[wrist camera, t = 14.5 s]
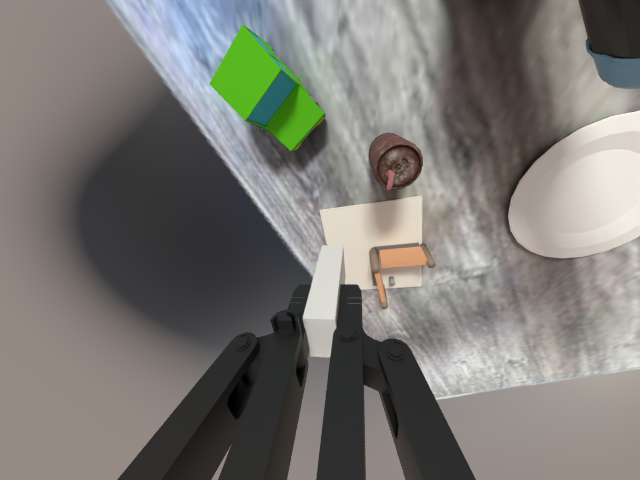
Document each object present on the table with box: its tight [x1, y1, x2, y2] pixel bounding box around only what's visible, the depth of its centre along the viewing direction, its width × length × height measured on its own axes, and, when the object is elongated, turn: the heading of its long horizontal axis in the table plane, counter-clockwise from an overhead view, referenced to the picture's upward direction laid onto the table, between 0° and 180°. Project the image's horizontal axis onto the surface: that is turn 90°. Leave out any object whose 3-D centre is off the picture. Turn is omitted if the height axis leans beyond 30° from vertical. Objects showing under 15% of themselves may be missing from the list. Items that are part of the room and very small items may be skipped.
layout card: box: [320, 196, 422, 290], centre depth 49 cm, size 20×22×2 cm
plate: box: [508, 111, 640, 258], centre depth 38 cm, size 25×25×2 cm
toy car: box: [210, 25, 325, 151], centre depth 34 cm, size 10×13×10 cm
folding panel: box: [374, 271, 388, 309], centre depth 49 cm, size 10×1×7 cm, turn 17°
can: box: [369, 133, 423, 191], centre depth 34 cm, size 6×6×14 cm
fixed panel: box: [370, 244, 436, 273], centre depth 45 cm, size 12×2×7 cm, turn 102°
